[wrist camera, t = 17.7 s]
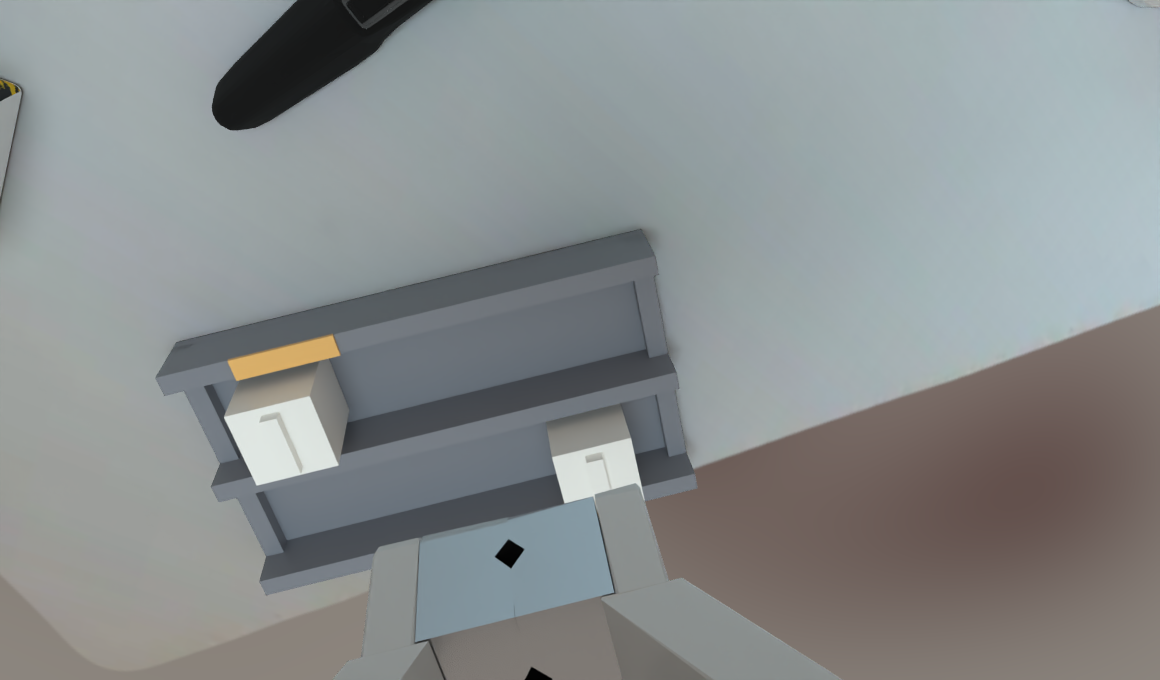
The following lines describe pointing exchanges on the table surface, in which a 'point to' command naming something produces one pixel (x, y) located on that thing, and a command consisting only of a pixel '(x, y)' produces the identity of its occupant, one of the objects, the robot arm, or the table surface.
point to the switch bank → (446, 401)
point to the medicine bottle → (7, 122)
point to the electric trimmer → (304, 56)
